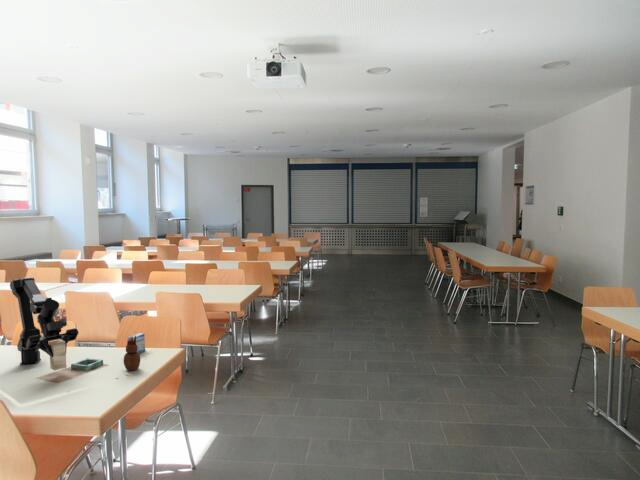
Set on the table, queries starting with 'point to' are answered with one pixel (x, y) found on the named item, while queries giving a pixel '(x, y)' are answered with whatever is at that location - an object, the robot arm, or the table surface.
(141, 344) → the medicine box
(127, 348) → the wooden figurine
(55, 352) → the birch block
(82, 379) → the table surface
